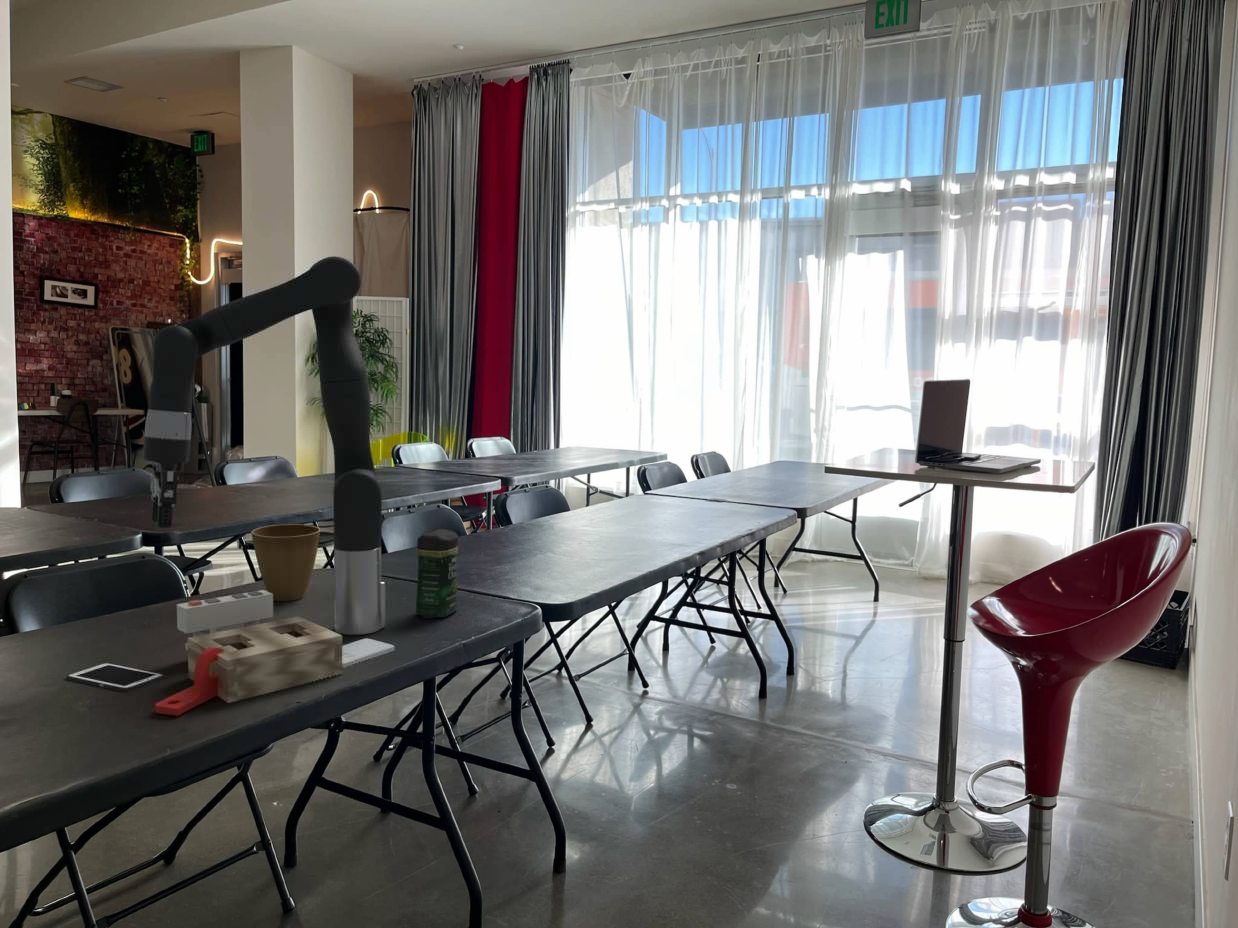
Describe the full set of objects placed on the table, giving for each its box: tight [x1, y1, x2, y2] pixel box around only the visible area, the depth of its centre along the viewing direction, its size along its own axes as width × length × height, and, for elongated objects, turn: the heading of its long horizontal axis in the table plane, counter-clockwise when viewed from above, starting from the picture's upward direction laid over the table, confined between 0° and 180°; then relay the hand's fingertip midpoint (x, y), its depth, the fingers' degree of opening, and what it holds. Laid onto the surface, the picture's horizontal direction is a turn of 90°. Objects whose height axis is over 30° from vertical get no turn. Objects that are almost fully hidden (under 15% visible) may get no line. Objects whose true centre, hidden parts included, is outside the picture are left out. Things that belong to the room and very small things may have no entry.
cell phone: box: [66, 662, 165, 693], centre depth 151 cm, size 8×15×1 cm, turn 68°
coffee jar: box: [415, 528, 459, 619], centre depth 194 cm, size 10×8×19 cm
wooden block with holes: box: [187, 616, 343, 704], centre depth 153 cm, size 20×16×7 cm
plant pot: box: [251, 523, 321, 602], centre depth 204 cm, size 15×15×16 cm
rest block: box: [209, 622, 245, 634], centre depth 164 cm, size 5×3×6 cm, turn 137°
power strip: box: [176, 589, 274, 651], centre depth 164 cm, size 16×4×9 cm, turn 137°
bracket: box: [155, 647, 224, 716], centre depth 141 cm, size 12×4×8 cm, turn 167°
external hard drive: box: [342, 638, 395, 669], centre depth 166 cm, size 2×8×12 cm
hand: (161, 524), depth 161 cm, fingers open, 8 cm apart
